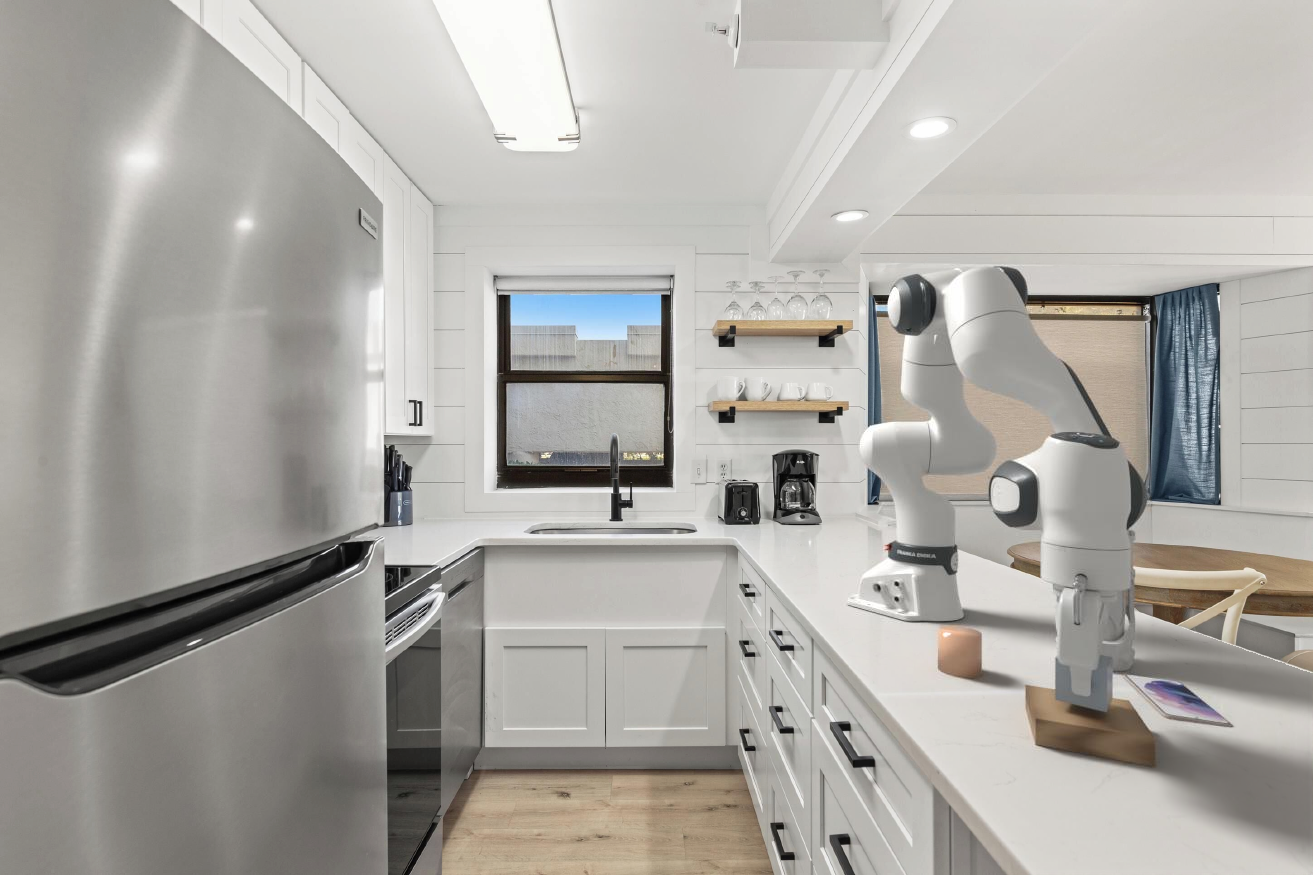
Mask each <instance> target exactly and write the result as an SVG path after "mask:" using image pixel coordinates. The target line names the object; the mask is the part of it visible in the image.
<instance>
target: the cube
mask: <svg viewBox="0 0 1313 875" xmlns="http://www.w3.org/2000/svg"><path fill="white" fill-rule="evenodd" d="M1054 658H1055V659H1054V660H1055V661H1054V662H1055V664H1054V666H1055V667H1054V669H1055V671H1054V672H1055V676H1054V677H1055V679H1054V680H1055V681H1054V682H1055V683H1054V687H1055V688H1054V689H1055V700H1058V701H1062V702H1067V703H1071V704H1075V705H1079V706H1083V707H1087V708H1091V709H1095V710H1099V711H1103V712H1107V711H1108V709H1109V706H1110V704H1111V702H1112V699H1113V698H1114V697H1113V696H1114V695H1113V690H1114V688H1113V686H1114V685H1113V683H1114V681H1113V680H1114V678H1113V672H1114V671H1113V657H1110V656H1105V655H1100V658H1099V663H1098V668H1097V669H1096V670H1092V675H1091V694H1090V696H1082V695H1077V694H1075V693H1073V692H1072V678H1071V672H1070V666H1066V665H1063V664H1061V663H1060V662H1059V660H1058V655H1057V654H1056V656H1055V657H1054Z"/></svg>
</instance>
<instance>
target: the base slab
mask: <svg viewBox="0 0 1313 875" xmlns="http://www.w3.org/2000/svg"><path fill="white" fill-rule="evenodd" d="M1024 689H1025V693H1024V694H1025V701H1024V702H1025V703H1024V704H1025V705H1024V706H1025V712H1026V714H1027V715H1026V716H1027V720H1028V722H1029V725H1030V729H1031V733H1032V738H1033V739H1034V744H1035V745H1036V746H1041V747H1047V748H1053V749H1057V748H1058V749H1057V750H1063V751H1066V752H1067V751H1068V752H1073V753H1079V754H1085V755H1090V756H1095V757H1100V758H1106V759H1112V760H1117V761H1122V762H1128V763H1131V764H1132V763H1133V764H1137V765H1143V766H1149V767H1153V768H1155V767H1156V737H1155V736H1154V734H1153V733H1152V732H1151V731H1150V729H1149V727H1148V726H1147V724H1146V723H1145V722H1144V720H1143V718H1142V717H1141V715H1140V714H1139V712H1138V711H1137V710H1136V709H1135V707H1134V705H1133V704H1132V702H1131V701H1130V700H1129V699H1121V698H1114V697H1113V699H1112V702H1111V704H1110V706H1109V709H1108V711H1107V712H1103V711H1099V710H1095V709H1091V708H1087V707H1083V706H1079V705H1075V704H1071V703H1067V702H1062V701H1058V700H1055V688H1049V687H1041V686H1035V685H1031V684H1025V688H1024Z"/></svg>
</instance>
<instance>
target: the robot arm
mask: <svg viewBox="0 0 1313 875" xmlns="http://www.w3.org/2000/svg"><path fill="white" fill-rule="evenodd" d="M1028 294H1029V290H1028V284H1027V281H1026V279H1025V277H1024V275H1023V274H1022V273H1021V271H1020V270H1019V269H1017V268H1014V267H1008V266H1002V265H994V266H986V265H985V266H978V267H977V266H976V267H975V266H973V267H971V266H969V267H956V268H953V269H945V270H939V271H934V272H929V273H927V272H926V273H923V274H919V273H914V274H910V275H906V276H903V277H900V278H899V279H897V281H896V282H895V283H894V284H893V285H892V287H891V288H890V292H889V295H888V296H889V297H888V300H887V305H886V306H887V316H888V318H889V322H890V325H891V326H892V328H893V329H894V330H895V331H896V332H897V333H898V334H901V335H904V341H903V342H904V343H903V349H902V359H901V360H902V361H901V378H900V379H901V381H900V393H901V395H902V397H903V398H904V400H905V401H906V402H907V403H909V405H911V406H913V407H915V408H917V409H919V410H921V411H923V412H926V413H928V414H929V415H930V416H931V417H930V420H926V421H890V422H882V423H877V424H872V425H869V427H867V428H866V430H865V431H864V432H863V433H862V436H861V438H860V441H859V446H858V447H859V450H858V451H859V454H860V455H859V456H860V458H861V461H862V463H863V464H864V465H865V467H866V468H867V469H868V470H870V471H871V472H872V473H874V474H875V475H876V476H877V477H878V478H879V479H880V480H881V481H882V482H883V484H885V486H886V487H887V490H888V491H889V492H890V495H891V497H892V501H893V506H894V512H895V522H896V524H895V526H896V527H895V529H896V539H895V540H894V541H891V542H889V543H888V544H885V545H884V547H885V548H884V551H887V553H888V554H887V557H886V558H884V559H883V560H882V561H880V562H879V563H877V564H876V565H874V566H872V567H871V568H870V569H869V570H867V571H865V572H864V573H863V574H862V575H861V578H860V582H859V584H858V589H857V591H858V592H856V593H853V594H852V595H849V596H848V598H847V599H846V603H847V606H851V607H855V608H858V609H861V610H865V611H869V612H873V613H876V614H880V615H883V616H887V617H891V618H895V619H898V620H901V621H905V622H906V621H907V622H919V621H920V622H921V621H926V622H930V621H931V622H948V621H949V622H950V621H958V620H961V619H962V618H964V617H965V614H964V611H963V608H962V603H961V599H960V594H959V587H958V580H957V573H958V568H959V553H958V552H959V551H958V545H957V544H956V509H955V507H954V505H953V503H952V502H951V500H948V499H947V498H946V497H945V496H942V495H941V494H939V493H937V492H935V491H933V490H931V489H928V488H927V487H926V486H925V484H924V482H923V477H924V476H957V477H958V476H966V475H973V474H978V473H984V472H986V471H987V470H988V469H989V468H990V467H991V466H992V465H993V463H994V461H995V459H996V456H997V451H998V449H997V446H998V445H997V440H996V438H995V436H994V434H993V433H992V431H991V430H990V429H989V428H988V427H987V426H986V425H984V423H982V422H980V421H979V420H978V419H976V418H975V416H974V415H973V414H972V413H971V411H970V410H969V407H968V406H967V403H966V401H965V395H964V378H965V380H967V382H969V383H971V384H972V385H974V386H976V387H978V388H979V389H981V390H983V391H984V390H985V391H987V392H989V393H990V392H991V393H994V394H998V395H1001V396H1005V397H1008V398H1011V399H1013V400H1017V401H1019V402H1022V403H1024V404H1026V405H1028V406H1031V407H1032V408H1034V409H1035V410H1037V411H1039V412H1040V413H1042V414H1043V415H1044V416H1045V418H1047V420H1048V421H1049V423H1050V425H1051V426H1052V429H1053V430H1054V433H1052V434H1050V435H1049V436H1047V437H1046V438H1045V440H1044V442H1043V443H1042V446H1041V447H1039V448H1037V449H1036V450H1034V451H1033V452H1030V453H1028V454H1026V455H1024V456H1020V457H1018V458H1016V459H1011V460H1010V459H1009V460H1006V461H1004V462H1003V463H1002V464H1000V465H999V466H998V467H997V468H996V469H995V471H994V472H993V474H992V475H991V478H990V480H989V484H988V502H989V507H990V510H992V512H993V513H994V515H995V517H997V518H998V519H999V520H1000V522H1002V523H1003V524H1004V525H1006V526H1007V527H1008V528H1012V529H1018V530H1022V531H1041V538H1040V578H1041V580H1043V581H1045V582H1047V583H1049V584H1052V594H1053V595H1055V596H1056V597H1057V596H1059V597H1060V600H1059V608H1058V636H1056V637H1057V647H1056V651H1057V654H1056V656H1057V655H1058V660H1059V662H1060V663H1061V664H1063V665H1066V666H1070V672H1071V678H1072V692H1073V693H1075V694H1077V695H1082V696H1090V694H1091V675H1092V670H1096V669H1097V668H1098V663H1099V658H1100V653H1101V648H1102V643H1103V638H1104V633H1105V628H1106V625H1107V620H1108V614H1109V608H1110V603H1113V602H1116V601H1117V591H1123V590H1126V591H1128V589H1129V588H1130V587H1131V545H1130V541H1129V538H1128V535H1127V530H1128V529H1129V530H1130V528H1132V527H1133V526H1134V525H1135V524H1136V523H1137V522H1138V520H1140V518H1141V516H1142V515H1143V514H1144V512H1145V510H1146V507H1147V504H1148V492H1147V487H1146V484H1145V482H1144V480H1143V478H1142V476H1141V475H1140V473H1139V472H1138V470H1137V469H1136V468H1135V467H1134V465H1133V464H1132V462H1130V460H1128V458H1127V454H1126V450H1125V448H1124V446H1123V444H1122V443H1121V441H1118V440H1117V439H1116V438H1115V437H1112V435H1111V433H1110V431H1109V430H1108V428H1107V425H1106V424H1105V422H1104V420H1103V418H1102V417H1101V414H1100V413H1099V412H1098V409H1097V407H1096V406H1095V404H1094V403H1093V401H1092V398H1091V397H1090V396H1089V393H1088V392H1087V390H1086V389H1085V387H1084V385H1083V383H1082V381H1081V380H1080V379H1079V377H1078V375H1077V373H1076V372H1075V371H1074V370H1073V368H1071V367H1070V365H1069V364H1068V363H1066V362H1065V361H1064V360H1062V359H1061V358H1059V357H1058V356H1057V355H1056V354H1055V353H1054V352H1052V350H1050V348H1049V347H1048V346H1047V345H1046V344H1045V342H1043V339H1042V338H1041V337H1040V336H1039V335H1038V333H1037V331H1036V330H1035V328H1034V325H1033V324H1032V321H1031V318H1030V315H1029V313H1028V310H1027V308H1026V307H1027V303H1028V297H1029V296H1028Z"/></svg>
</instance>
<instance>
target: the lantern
mask: <svg viewBox="0 0 1313 875" xmlns="http://www.w3.org/2000/svg"><path fill="white" fill-rule="evenodd" d="M1127 535H1128V538H1129V541H1130V545H1131V587H1130V588H1129V589H1127V590H1123V591H1117V601H1116V602H1113V603H1110V608H1109V614H1108V620H1107V625H1106V628H1105V633H1104V638H1103V643H1102V648H1101V653H1100V655H1105V656H1110V657H1113V672H1123V671H1129V670H1130V669H1132V666H1133V663H1134V661H1135V657H1136V656H1135V654H1136V650H1135V649H1134V648H1133V644H1134V641H1135V636H1136V614H1135V578H1136V570H1135V569H1134V541H1136V532H1135V530H1132V529H1130V528H1129V529H1128V530H1127ZM1126 592H1127V594H1126ZM1126 595H1127V596H1126ZM1059 600H1060V597H1059V596H1056V604H1055V629H1056V633H1057V636H1058V608H1059ZM1126 617H1127V620H1128V623H1129V625H1128V628H1127V629H1126V632H1125V623H1126ZM1057 636H1056V637H1055V646H1056V648H1057Z"/></svg>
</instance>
